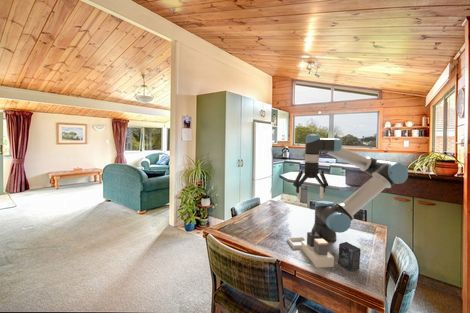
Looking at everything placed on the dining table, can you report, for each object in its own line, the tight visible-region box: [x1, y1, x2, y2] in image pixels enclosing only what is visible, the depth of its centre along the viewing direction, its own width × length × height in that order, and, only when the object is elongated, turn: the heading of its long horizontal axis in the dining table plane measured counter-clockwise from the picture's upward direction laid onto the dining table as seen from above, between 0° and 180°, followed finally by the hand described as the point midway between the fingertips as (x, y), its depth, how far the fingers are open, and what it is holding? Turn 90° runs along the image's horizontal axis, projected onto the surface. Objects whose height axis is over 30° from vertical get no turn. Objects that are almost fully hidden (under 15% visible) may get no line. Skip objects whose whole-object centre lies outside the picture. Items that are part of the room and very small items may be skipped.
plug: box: [314, 239, 329, 255], centre depth 111 cm, size 5×5×10 cm
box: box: [337, 241, 362, 272], centre depth 108 cm, size 8×6×11 cm
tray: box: [286, 236, 307, 250], centre depth 129 cm, size 10×10×2 cm
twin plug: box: [306, 227, 320, 247], centre depth 119 cm, size 5×5×13 cm
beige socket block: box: [300, 241, 336, 269], centre depth 116 cm, size 16×18×5 cm
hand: (310, 198), depth 126 cm, fingers open, 13 cm apart
